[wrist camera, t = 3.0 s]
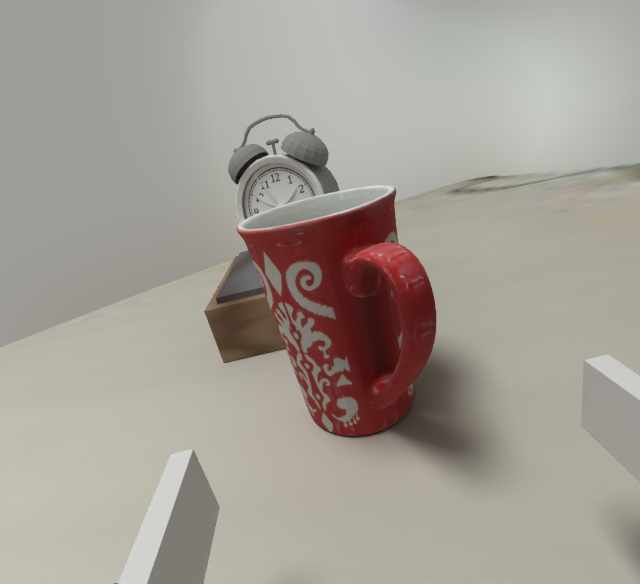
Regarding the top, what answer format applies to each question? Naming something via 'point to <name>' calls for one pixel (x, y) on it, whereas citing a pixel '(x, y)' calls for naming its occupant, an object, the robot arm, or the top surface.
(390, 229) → the mug
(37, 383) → the top surface
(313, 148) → the alarm clock
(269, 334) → the walnut stand
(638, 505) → the top surface
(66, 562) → the top surface
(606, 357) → the robot arm
